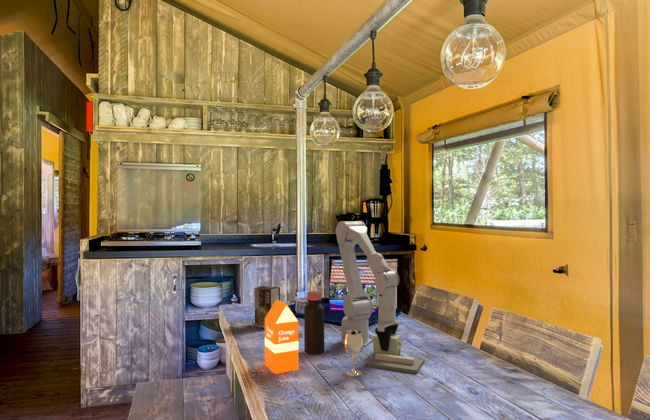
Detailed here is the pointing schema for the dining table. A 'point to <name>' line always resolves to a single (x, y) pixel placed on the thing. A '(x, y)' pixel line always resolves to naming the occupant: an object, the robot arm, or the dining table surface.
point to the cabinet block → (393, 345)
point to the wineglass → (353, 347)
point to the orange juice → (281, 339)
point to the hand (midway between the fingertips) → (387, 347)
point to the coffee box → (264, 302)
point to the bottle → (314, 324)
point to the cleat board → (394, 363)
